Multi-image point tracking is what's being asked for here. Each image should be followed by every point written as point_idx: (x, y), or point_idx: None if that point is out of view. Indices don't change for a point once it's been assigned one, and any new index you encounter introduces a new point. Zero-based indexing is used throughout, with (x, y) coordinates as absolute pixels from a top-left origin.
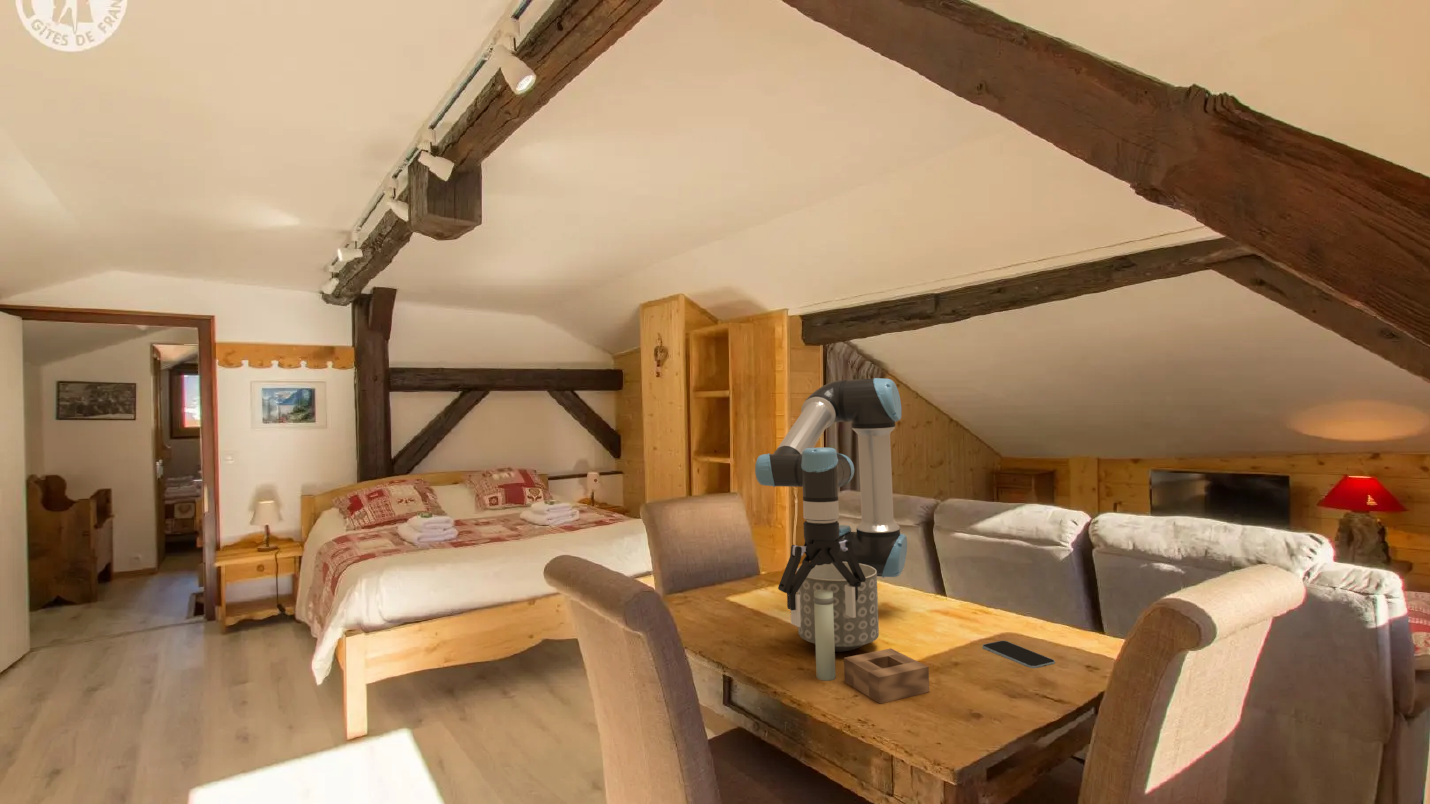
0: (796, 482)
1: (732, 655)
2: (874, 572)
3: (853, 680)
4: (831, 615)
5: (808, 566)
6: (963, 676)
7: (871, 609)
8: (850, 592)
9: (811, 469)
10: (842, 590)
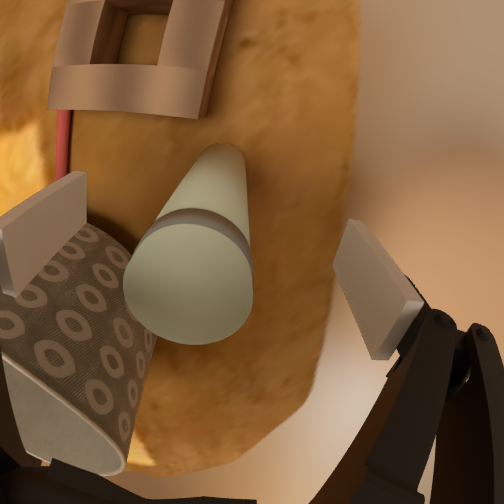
0: None
1: (293, 357)
2: None
3: (212, 76)
4: (193, 188)
5: (411, 483)
6: (7, 29)
7: None
8: (24, 230)
9: None
10: (28, 331)
